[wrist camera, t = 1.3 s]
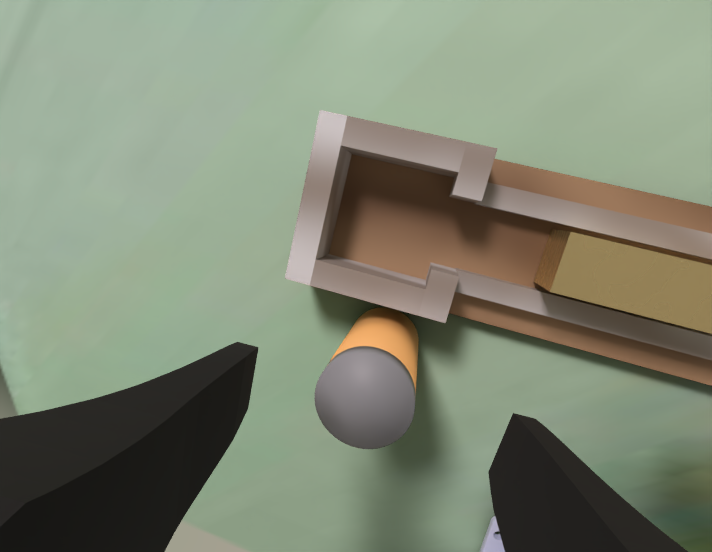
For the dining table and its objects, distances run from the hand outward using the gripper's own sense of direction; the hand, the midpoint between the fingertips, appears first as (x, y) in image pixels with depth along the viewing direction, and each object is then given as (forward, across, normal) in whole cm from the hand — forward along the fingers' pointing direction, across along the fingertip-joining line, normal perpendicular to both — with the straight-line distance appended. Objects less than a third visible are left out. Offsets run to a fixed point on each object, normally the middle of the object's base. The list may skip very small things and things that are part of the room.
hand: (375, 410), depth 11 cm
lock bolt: (+9, -10, -4) cm, 14 cm away
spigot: (+10, -1, +2) cm, 10 cm away
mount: (+10, -6, -4) cm, 12 cm away
